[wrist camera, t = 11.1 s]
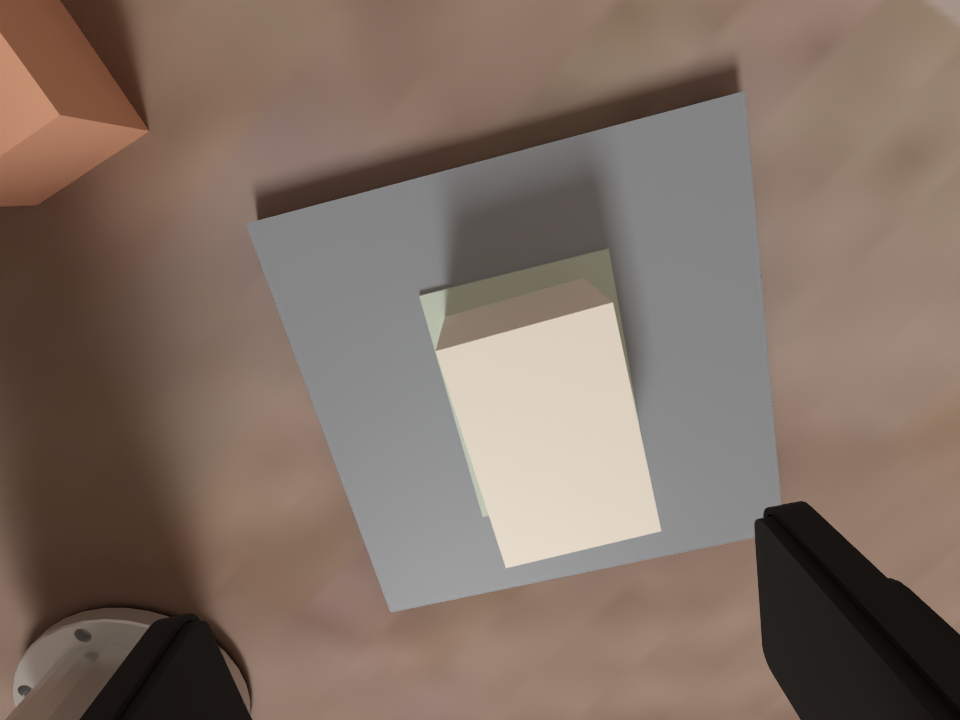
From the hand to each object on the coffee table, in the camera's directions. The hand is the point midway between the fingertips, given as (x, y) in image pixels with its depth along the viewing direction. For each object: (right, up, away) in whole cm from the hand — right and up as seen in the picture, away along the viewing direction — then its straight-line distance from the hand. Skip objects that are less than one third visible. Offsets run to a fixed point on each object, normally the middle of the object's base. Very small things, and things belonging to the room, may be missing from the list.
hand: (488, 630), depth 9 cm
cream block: (+3, +3, +15) cm, 15 cm away
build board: (+3, +3, +16) cm, 16 cm away
